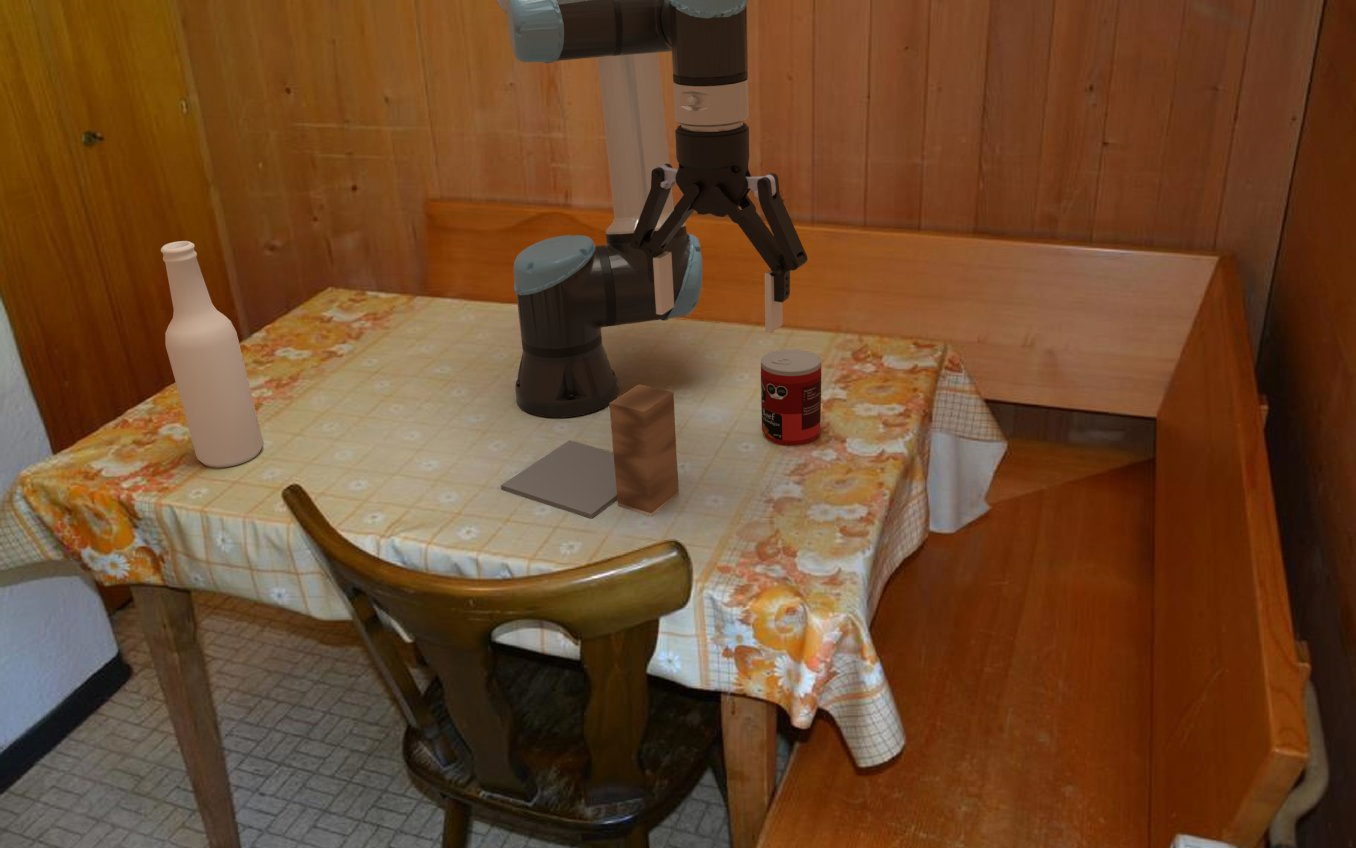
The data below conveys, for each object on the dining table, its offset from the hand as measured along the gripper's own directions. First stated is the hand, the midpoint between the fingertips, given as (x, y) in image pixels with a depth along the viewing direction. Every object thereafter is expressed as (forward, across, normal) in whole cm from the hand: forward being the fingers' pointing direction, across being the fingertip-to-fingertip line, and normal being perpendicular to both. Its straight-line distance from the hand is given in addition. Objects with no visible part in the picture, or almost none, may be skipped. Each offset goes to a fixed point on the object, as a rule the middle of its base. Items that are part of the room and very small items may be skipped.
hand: (718, 319), depth 121 cm
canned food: (+25, -2, +22) cm, 34 cm away
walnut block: (+25, -10, -1) cm, 27 cm away
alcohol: (+25, -69, -16) cm, 75 cm away
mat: (+25, -21, -1) cm, 32 cm away
